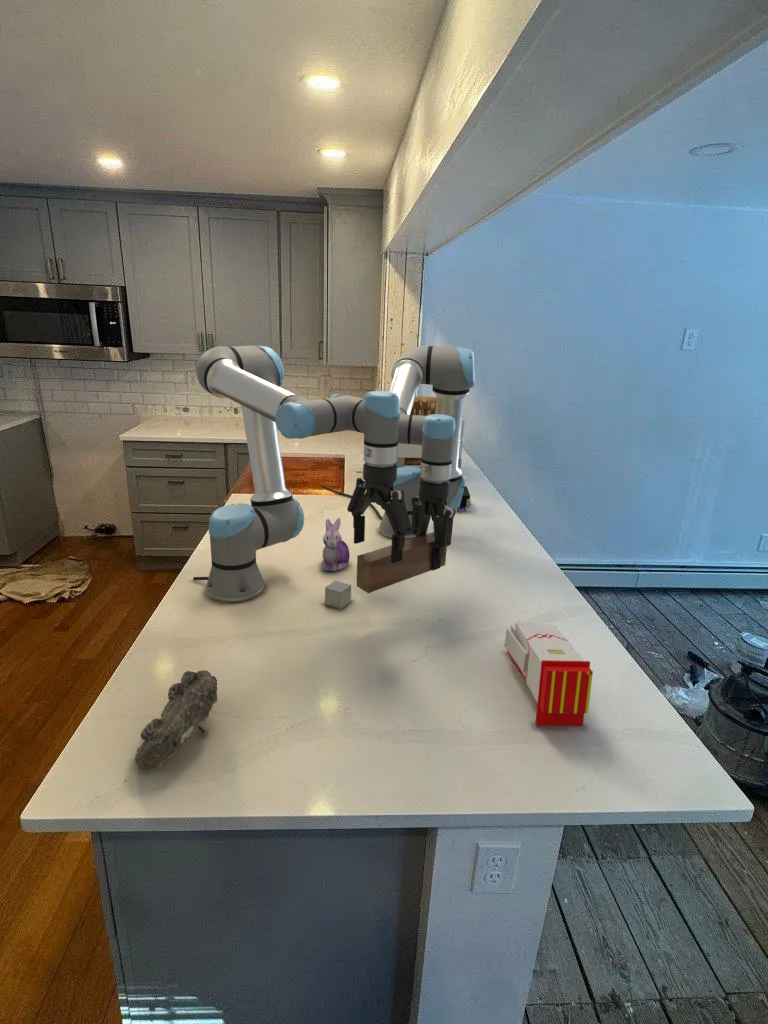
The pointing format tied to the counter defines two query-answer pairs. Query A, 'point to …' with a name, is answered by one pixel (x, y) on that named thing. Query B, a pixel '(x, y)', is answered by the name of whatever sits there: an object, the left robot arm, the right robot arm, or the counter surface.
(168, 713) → the fossil
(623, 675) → the counter surface
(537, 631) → the toy
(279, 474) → the left robot arm
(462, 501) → the figurine character
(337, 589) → the grey ceramic block
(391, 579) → the walnut block
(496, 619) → the counter surface
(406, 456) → the white slatted box
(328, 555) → the figurine
